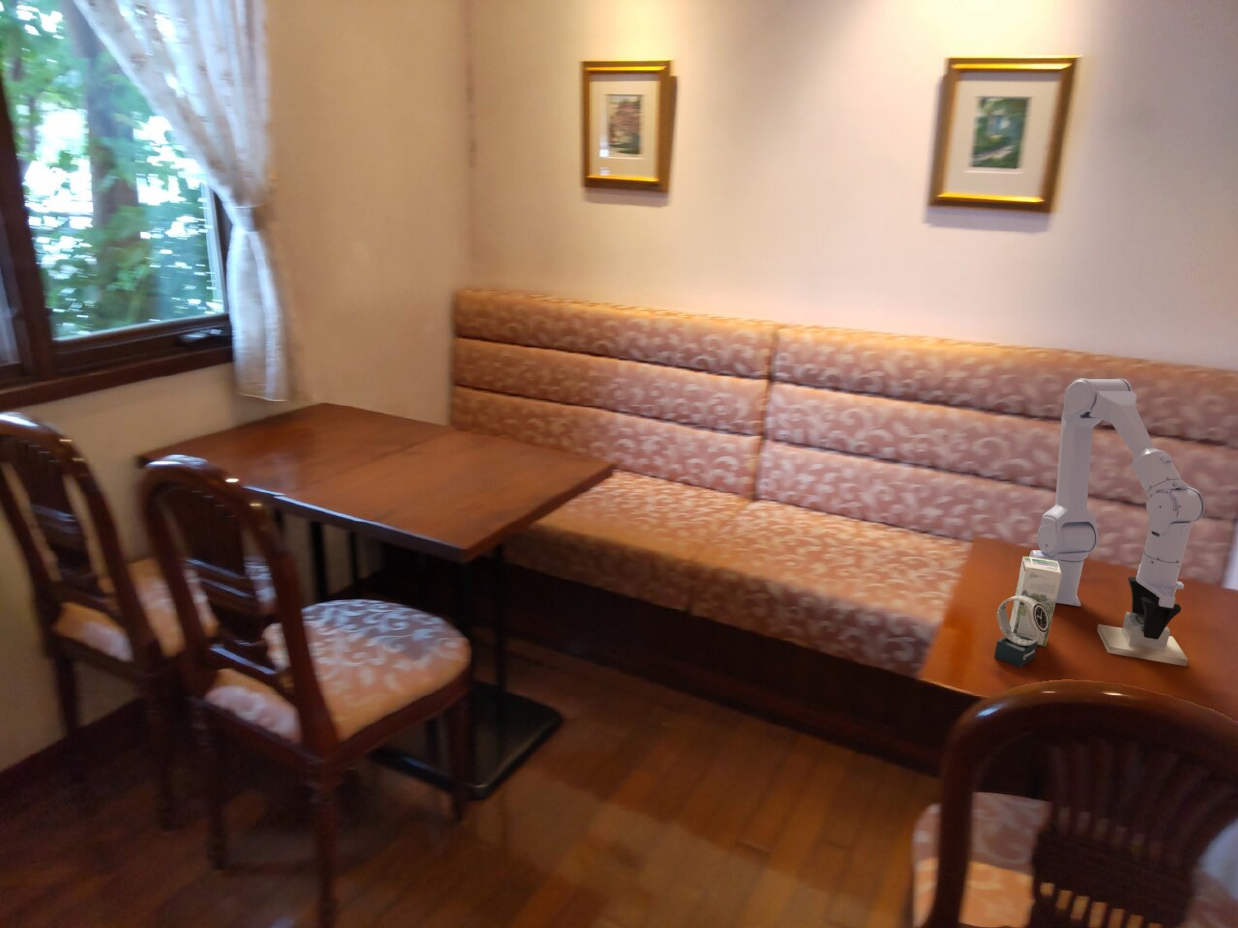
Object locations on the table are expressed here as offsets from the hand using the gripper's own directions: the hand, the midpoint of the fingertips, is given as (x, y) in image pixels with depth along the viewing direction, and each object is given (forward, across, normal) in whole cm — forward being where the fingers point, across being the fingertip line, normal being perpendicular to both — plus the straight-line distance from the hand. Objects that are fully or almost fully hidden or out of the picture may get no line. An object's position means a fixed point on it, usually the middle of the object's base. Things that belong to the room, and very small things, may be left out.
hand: (1144, 627), depth 149 cm
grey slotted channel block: (+3, 0, 0) cm, 3 cm away
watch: (+4, -13, +22) cm, 26 cm away
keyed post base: (+4, 0, 0) cm, 4 cm away
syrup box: (+4, -4, +19) cm, 20 cm away
